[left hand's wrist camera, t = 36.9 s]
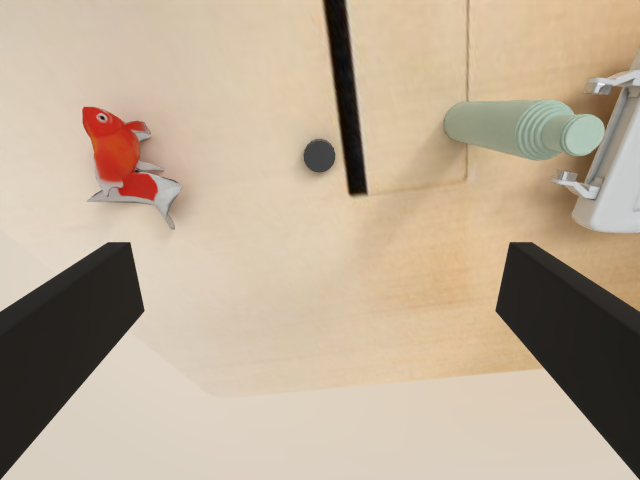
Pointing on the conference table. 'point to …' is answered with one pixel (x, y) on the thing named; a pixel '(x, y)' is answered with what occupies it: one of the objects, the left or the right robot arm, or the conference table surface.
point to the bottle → (525, 128)
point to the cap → (319, 155)
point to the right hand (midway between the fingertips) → (571, 132)
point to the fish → (125, 163)
